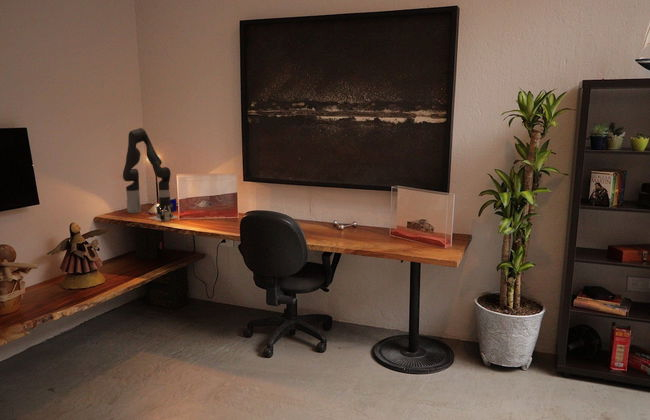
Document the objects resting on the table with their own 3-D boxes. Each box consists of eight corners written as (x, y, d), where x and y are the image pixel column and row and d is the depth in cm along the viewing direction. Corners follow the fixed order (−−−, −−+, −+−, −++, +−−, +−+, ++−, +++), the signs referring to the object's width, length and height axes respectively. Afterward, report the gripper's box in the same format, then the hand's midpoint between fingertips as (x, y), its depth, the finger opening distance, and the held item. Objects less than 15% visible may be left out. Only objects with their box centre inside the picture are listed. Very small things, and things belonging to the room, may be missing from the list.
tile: (156, 214, 378) (164, 216, 373) (165, 212, 384) (173, 214, 379) (156, 217, 378) (164, 219, 373) (165, 215, 385) (173, 217, 379)
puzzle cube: (168, 213, 394) (167, 200, 392) (158, 212, 399) (157, 199, 397) (177, 211, 403) (176, 198, 401) (167, 209, 408) (166, 197, 406)
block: (161, 221, 368) (161, 211, 366) (166, 220, 371) (166, 210, 369) (165, 222, 365) (164, 212, 364) (170, 221, 368) (169, 211, 367)
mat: (147, 218, 377) (147, 217, 377) (166, 214, 389) (166, 214, 389) (160, 221, 367) (160, 220, 367) (179, 217, 380) (179, 216, 380)
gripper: (158, 197, 356) (160, 222, 360) (176, 195, 368) (177, 218, 371) (152, 196, 361) (154, 220, 364) (169, 193, 372) (171, 217, 375)
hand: (166, 219), depth 368 cm, fingers open, 5 cm apart
